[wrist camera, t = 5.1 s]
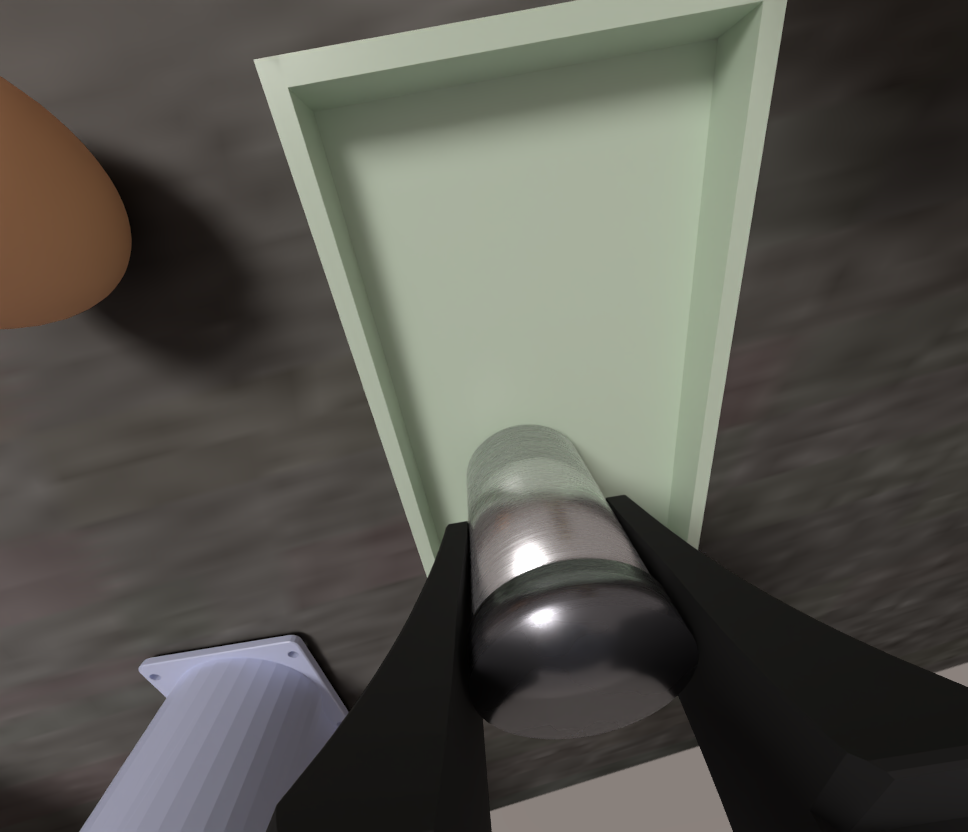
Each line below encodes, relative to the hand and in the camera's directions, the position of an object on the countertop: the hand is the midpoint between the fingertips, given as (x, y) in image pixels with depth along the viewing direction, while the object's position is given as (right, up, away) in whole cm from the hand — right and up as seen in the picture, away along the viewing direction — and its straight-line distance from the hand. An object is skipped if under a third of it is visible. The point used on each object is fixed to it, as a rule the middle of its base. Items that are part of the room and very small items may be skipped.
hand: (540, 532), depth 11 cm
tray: (0, +5, +1) cm, 5 cm away
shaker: (0, +2, +2) cm, 3 cm away
